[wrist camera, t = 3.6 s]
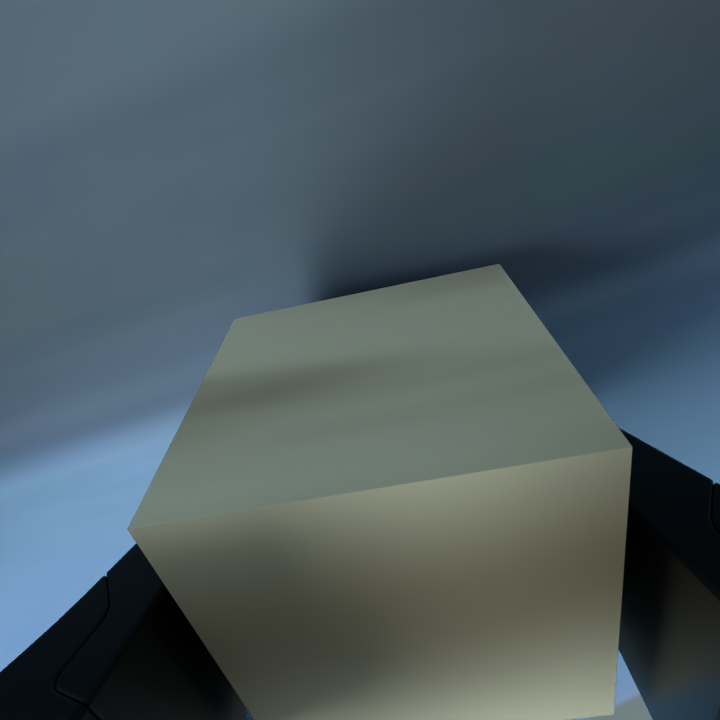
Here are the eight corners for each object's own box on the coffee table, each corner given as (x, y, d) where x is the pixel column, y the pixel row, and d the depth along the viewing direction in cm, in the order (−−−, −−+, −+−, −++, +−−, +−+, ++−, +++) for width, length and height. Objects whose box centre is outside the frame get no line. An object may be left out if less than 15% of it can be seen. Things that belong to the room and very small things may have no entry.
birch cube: (516, 468, 11) (613, 714, 7) (306, 502, 12) (274, 750, 8) (499, 263, 9) (632, 447, 5) (234, 318, 9) (126, 529, 5)
